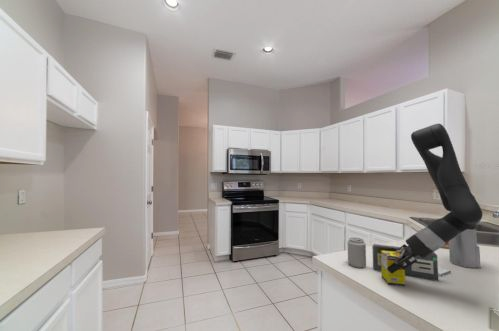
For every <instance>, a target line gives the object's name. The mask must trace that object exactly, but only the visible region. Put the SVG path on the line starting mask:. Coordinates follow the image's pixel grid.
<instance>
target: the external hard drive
mask: <svg viewBox="0 0 499 331" xmlns="http://www.w3.org/2000/svg"><path fill="white" fill-rule="evenodd" d="M450 274H452V270H450V269H447V268H443V267H440V266H438V277H444V276H446V275H450ZM443 275H444V276H443Z"/></svg>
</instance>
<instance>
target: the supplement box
mask: <svg viewBox="0 0 499 331" xmlns="http://www.w3.org/2000/svg"><path fill="white" fill-rule="evenodd" d="M399 255H400V254H399V253H397V252H395V251H381V270H382V271H381V278H382V280H383V281H384V282H385V283H386V284H387V285H389V286H399V287H406V275H405V269H404V270H403V269H398V270H397V271H395V272H394V273H390V272H389V271H388V270H387V267H389V266H390V265H392V264H393V263H395V262H396V261H397V260H398V256H399ZM401 264H403V263H401Z"/></svg>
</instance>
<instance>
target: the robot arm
mask: <svg viewBox="0 0 499 331" xmlns="http://www.w3.org/2000/svg"><path fill="white" fill-rule="evenodd" d="M410 139H411V141H412V144H413V145H414V148H415V149H416V151H417V153H418V154H419V156H420V157H421V159H422V161H423V162H424V165H425V167H426V170H427V171H428V174H429V175H430V177H431V180H432V181H433V183H434V186H435V187H436V190H437V191H438V194H439V197H440V201H441V203H442V205H443V207H444V209H445V210H446V211H448V213H447V214H446V215H444V216H443V217H441V218H437V219H435V220H434V221H432V222H431V223H430V224H428V225H427V226H425V227H422V228H421V229H420V230H418V231H417V232H415V233H413V235H411V236H410V237H408V238H407V239H405V244H403V245H401V246H399V247H400V248H398V249H397V250H395V252H397V253H399V254H400V255H399V256H398V260H397V261H396V262H395V263H393V264H392V265H390V266H389V267H387V270H388V271H389V272H390V273H394V272H395V271H397V270H398V269H403V270H404V269H406V268H407V267H409V266H410V265H412V264H414V263H415V262H417V260H416V259H415V257H416V256H417V255H419V256H420V257H422V258H425V257H427V256H428V255H430V254H432V253H433V252H434V253H436V252H437V251H438V250H439V249H442V248H441V247H442V246H443V245H444V244H445V243H447V242H448V241H449V249H448V251H449V261H450V263H452V264H454V265H457V266H460V267H465V268H471V269H476V268H478V269H481V251H480V249H481V248H480V246H479V245H478V242H477V241H478V240H477V224H478V223H480V222H481V220H482V218H483V211H482V208H481V206H480V205H479V203H478V201H477V199H476V197H475V196H474V195H473V194H472V192H471V189H470V186H469V184H468V182H467V180H466V178H465V176H464V174H463V172H462V170H461V168H460V164H459V161H458V158H457V155H456V152H455V149H454V145H453V144H452V141H451V138H450V135H449V133H448V131H447V129H446V128H445V126H444V125H443V124H441V123H435V124H431V125H429V126H426V127H423V128H420V129H418V130H416V131H415V130H414V131H413V132H412V133H411V135H410ZM440 147H441V148H442V155H441V156H439V155H437V154H435V153H433V152H431V150H433V149H436V148H440ZM401 263H403V264H401Z"/></svg>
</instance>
